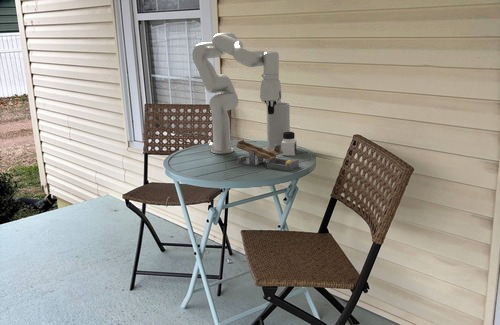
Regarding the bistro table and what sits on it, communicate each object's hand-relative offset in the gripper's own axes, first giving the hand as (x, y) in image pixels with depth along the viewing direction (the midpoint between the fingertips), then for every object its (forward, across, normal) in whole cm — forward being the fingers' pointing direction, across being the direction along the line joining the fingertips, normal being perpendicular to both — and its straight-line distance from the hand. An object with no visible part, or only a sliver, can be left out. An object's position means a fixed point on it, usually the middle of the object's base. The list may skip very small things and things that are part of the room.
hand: (270, 113), depth 257 cm
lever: (+18, -3, -6) cm, 19 cm away
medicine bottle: (+24, +3, +14) cm, 28 cm away
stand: (+24, -6, -10) cm, 27 cm away
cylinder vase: (+24, -8, +22) cm, 33 cm away
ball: (+21, +16, -10) cm, 29 cm away
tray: (+23, +13, -10) cm, 29 cm away
